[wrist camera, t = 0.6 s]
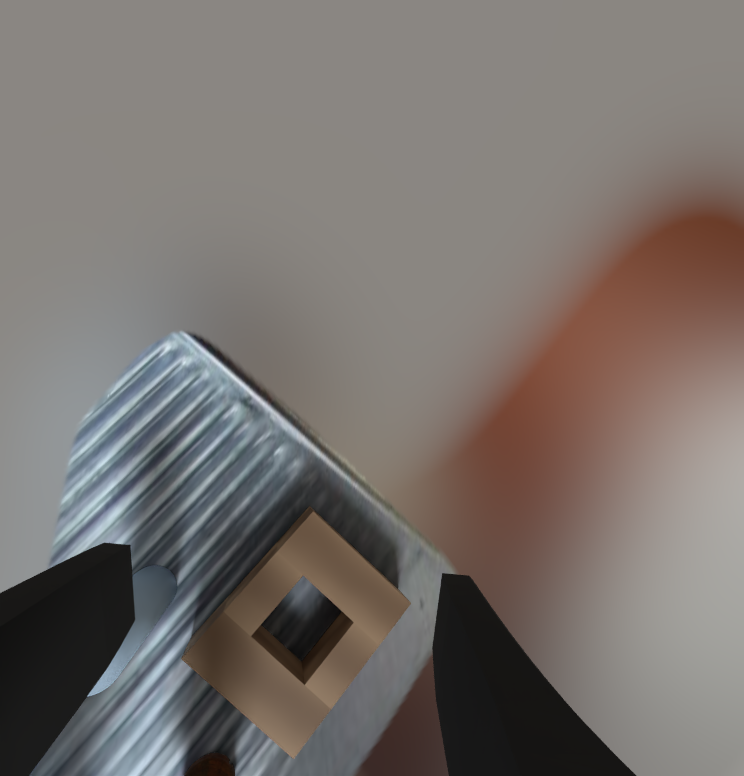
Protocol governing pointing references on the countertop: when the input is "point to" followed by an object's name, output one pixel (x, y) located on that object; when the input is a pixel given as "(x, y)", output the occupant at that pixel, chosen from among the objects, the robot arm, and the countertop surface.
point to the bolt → (211, 766)
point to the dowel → (141, 617)
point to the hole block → (270, 657)
